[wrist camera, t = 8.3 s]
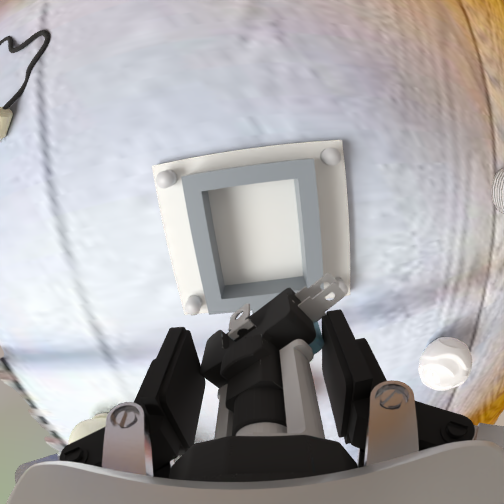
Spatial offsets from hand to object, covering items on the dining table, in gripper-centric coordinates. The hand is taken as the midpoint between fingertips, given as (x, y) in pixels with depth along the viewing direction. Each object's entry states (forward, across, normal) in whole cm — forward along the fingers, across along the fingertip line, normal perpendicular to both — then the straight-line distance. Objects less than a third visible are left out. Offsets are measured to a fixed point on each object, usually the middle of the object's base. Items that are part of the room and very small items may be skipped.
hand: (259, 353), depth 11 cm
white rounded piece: (+19, -23, +20) cm, 36 cm away
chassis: (+19, 0, 0) cm, 19 cm away
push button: (+2, -1, 0) cm, 2 cm away
